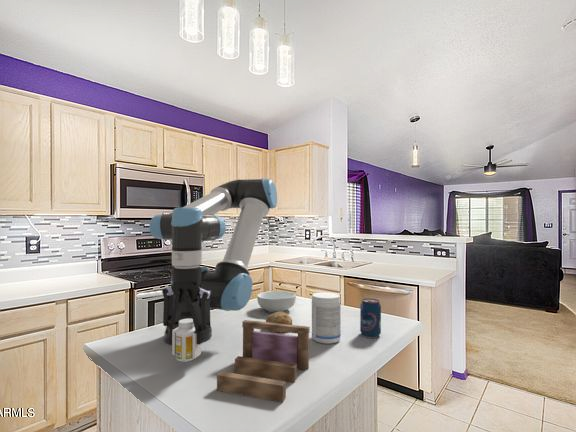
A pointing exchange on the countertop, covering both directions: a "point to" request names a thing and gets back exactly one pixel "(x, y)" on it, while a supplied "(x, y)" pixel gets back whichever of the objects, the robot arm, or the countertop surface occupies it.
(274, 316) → the bread roll
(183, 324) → the supplement bottle
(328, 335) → the supplement tub
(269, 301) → the cereal bowl
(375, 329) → the soda can
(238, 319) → the countertop surface
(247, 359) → the wooden rack
